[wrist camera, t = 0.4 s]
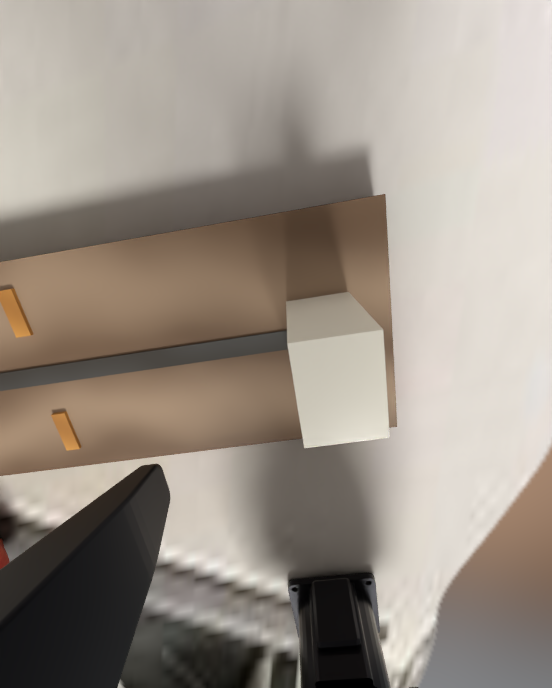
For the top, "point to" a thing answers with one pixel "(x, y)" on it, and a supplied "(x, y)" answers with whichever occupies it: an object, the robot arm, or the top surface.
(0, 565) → the onion
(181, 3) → the top surface
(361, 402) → the fader knob
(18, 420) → the fader console
